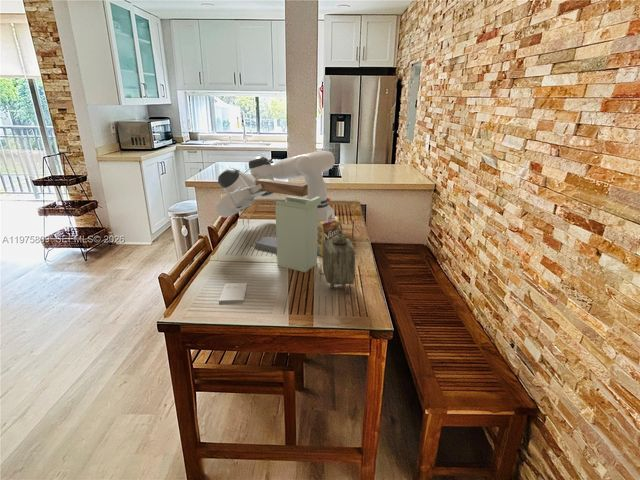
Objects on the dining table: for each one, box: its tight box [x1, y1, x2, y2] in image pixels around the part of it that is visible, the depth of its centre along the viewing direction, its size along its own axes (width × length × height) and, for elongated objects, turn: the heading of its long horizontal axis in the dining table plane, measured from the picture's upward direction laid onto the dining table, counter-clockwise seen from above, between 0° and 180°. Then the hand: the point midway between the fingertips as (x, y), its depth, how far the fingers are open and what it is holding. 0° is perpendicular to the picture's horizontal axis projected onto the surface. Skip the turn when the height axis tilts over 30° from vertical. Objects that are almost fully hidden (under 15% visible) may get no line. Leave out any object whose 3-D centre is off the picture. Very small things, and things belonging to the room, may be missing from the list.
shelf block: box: [274, 195, 321, 273], centre depth 149 cm, size 10×15×29 cm, turn 61°
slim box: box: [255, 178, 308, 198], centre depth 146 cm, size 4×22×4 cm, turn 61°
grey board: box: [254, 236, 277, 253], centre depth 169 cm, size 9×28×2 cm, turn 61°
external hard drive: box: [218, 282, 248, 304], centre depth 132 cm, size 2×8×12 cm
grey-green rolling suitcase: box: [322, 221, 356, 295], centre depth 132 cm, size 14×9×25 cm, turn 8°
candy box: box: [317, 218, 340, 257], centre depth 164 cm, size 9×4×15 cm, turn 123°
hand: (266, 184), depth 149 cm, fingers closed on slim box, 4 cm apart
